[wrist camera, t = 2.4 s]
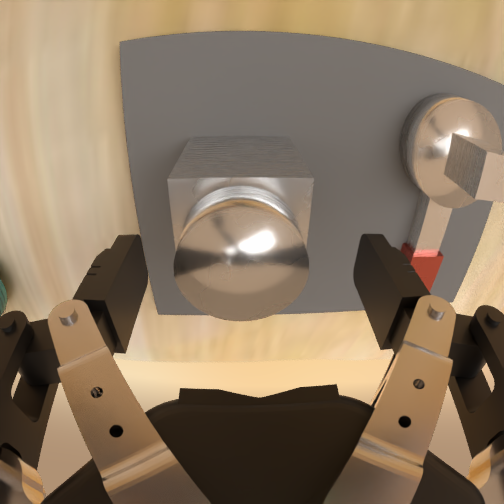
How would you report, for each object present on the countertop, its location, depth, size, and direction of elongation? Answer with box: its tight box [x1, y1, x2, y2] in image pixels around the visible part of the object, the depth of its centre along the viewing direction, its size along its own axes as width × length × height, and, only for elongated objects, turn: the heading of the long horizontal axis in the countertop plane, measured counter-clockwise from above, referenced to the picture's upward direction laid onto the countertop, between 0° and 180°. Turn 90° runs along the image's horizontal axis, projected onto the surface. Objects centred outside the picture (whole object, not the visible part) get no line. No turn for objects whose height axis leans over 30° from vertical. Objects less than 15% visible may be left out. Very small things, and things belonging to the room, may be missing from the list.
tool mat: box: [120, 31, 504, 315], centre depth 18 cm, size 24×18×1 cm
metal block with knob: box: [167, 136, 314, 321], centre depth 14 cm, size 5×5×8 cm
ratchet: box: [399, 93, 504, 292], centre depth 16 cm, size 6×15×5 cm, turn 179°
